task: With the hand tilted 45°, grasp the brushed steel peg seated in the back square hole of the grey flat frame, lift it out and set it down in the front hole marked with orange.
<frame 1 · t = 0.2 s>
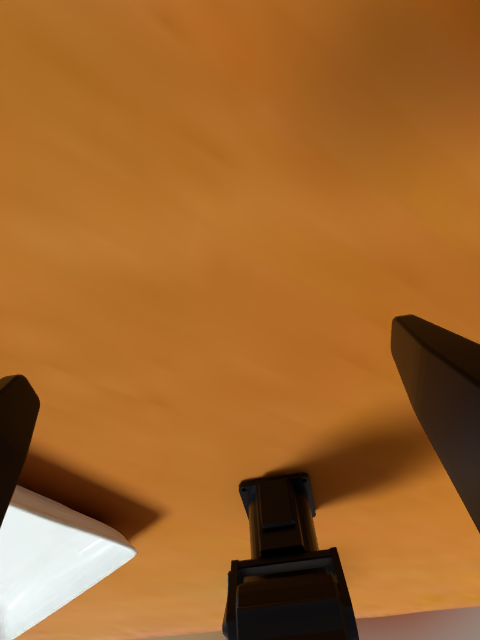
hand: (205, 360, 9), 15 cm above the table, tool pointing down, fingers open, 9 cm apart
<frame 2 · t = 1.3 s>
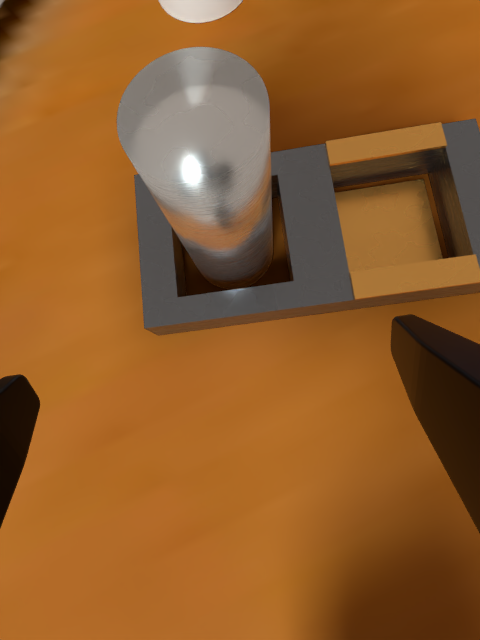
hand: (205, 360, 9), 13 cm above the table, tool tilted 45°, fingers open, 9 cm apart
steel peg: (233, 251, 24), resting in grey flat frame
grey flat frame: (308, 240, 23), on the table
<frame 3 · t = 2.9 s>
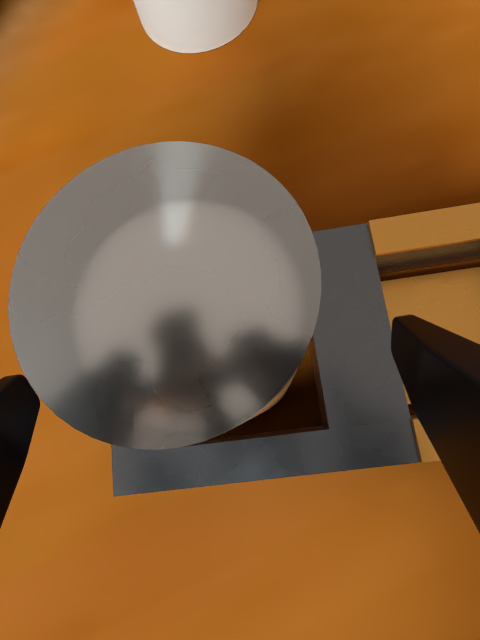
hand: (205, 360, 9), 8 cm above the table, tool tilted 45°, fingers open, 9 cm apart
steel peg: (240, 362, 18), resting in grey flat frame
cylindrical container: (198, 7, 23), on the table
grey flat frame: (342, 348, 17), on the table
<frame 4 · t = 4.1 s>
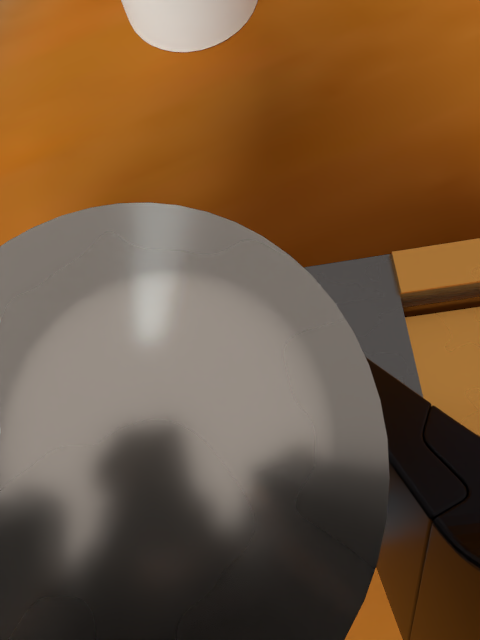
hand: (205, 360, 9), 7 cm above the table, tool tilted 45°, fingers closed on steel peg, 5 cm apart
steel peg: (240, 410, 15), resting in grey flat frame, touching gripper
grey flat frame: (359, 395, 15), on the table
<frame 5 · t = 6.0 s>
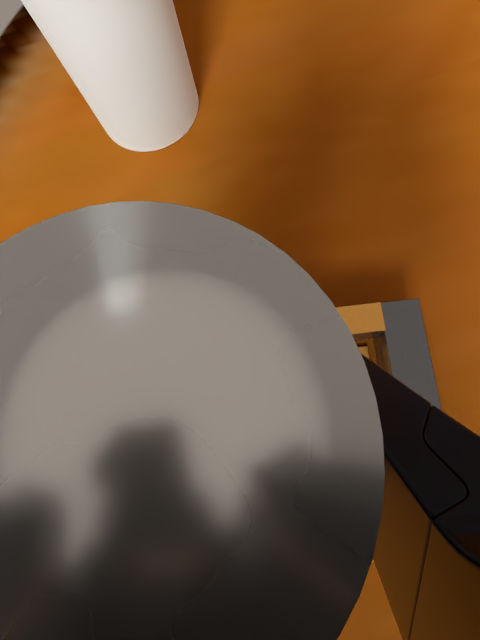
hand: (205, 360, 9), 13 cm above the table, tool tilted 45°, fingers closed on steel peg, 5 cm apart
steel peg: (239, 410, 15), point 7 cm above the table, touching gripper
cylindrical container: (150, 109, 27), on the table
grey flat frame: (243, 408, 22), on the table
when the fingers open (7 cm above the table, at t = 8.1 s): steel peg stays where it is, resting on grey flat frame.
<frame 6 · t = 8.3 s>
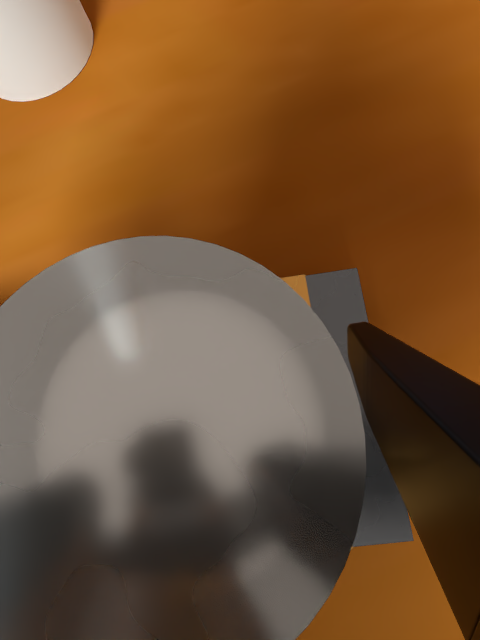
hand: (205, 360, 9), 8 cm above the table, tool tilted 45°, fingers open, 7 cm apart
steel peg: (242, 411, 16), resting on grey flat frame
cylindrical container: (35, 51, 22), on the table
grey flat frame: (136, 424, 16), on the table
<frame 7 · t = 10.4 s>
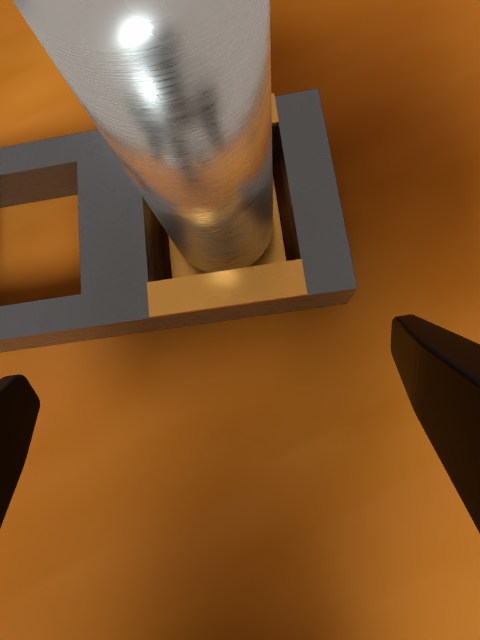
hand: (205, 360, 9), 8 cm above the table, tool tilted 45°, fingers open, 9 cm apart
steel peg: (222, 225, 19), resting on grey flat frame
grey flat frame: (132, 242, 19), on the table
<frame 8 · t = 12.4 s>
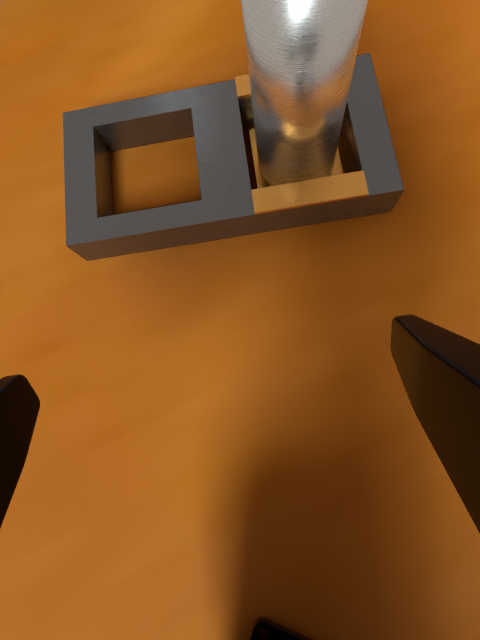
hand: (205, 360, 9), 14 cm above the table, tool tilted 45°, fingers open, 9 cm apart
steel peg: (295, 158, 25), resting on grey flat frame
grey flat frame: (225, 172, 25), on the table
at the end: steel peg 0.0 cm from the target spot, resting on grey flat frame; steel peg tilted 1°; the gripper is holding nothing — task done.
